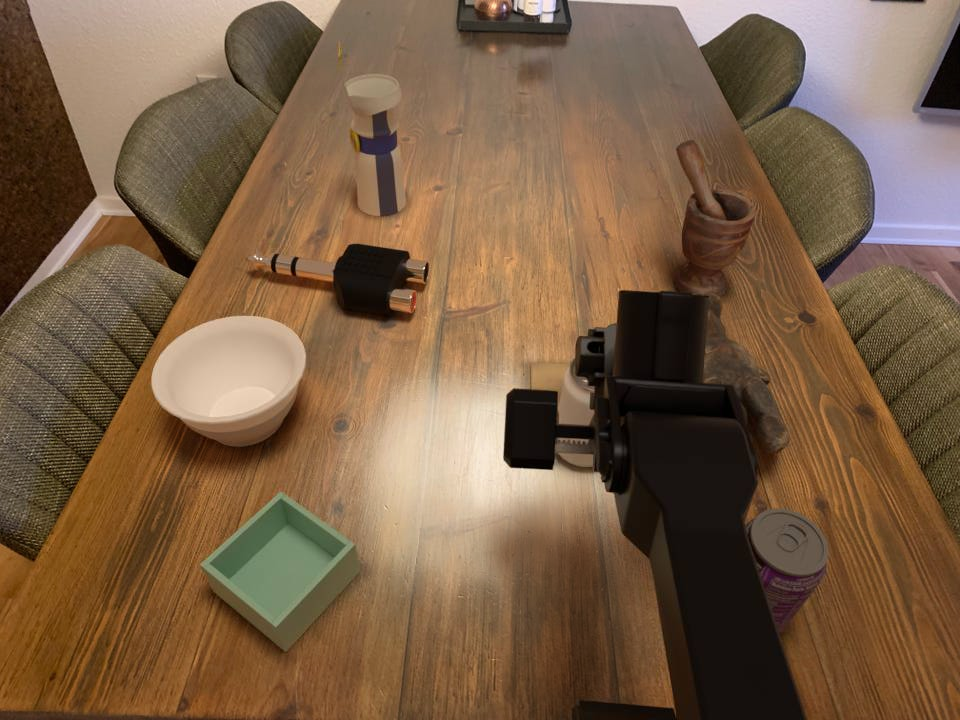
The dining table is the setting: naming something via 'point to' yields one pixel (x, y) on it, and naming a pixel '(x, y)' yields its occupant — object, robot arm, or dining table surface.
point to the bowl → (231, 378)
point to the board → (548, 378)
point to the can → (575, 411)
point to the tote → (282, 569)
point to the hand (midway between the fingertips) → (605, 423)
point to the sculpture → (742, 379)
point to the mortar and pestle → (709, 228)
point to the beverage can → (787, 559)
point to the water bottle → (376, 143)
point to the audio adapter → (357, 276)
